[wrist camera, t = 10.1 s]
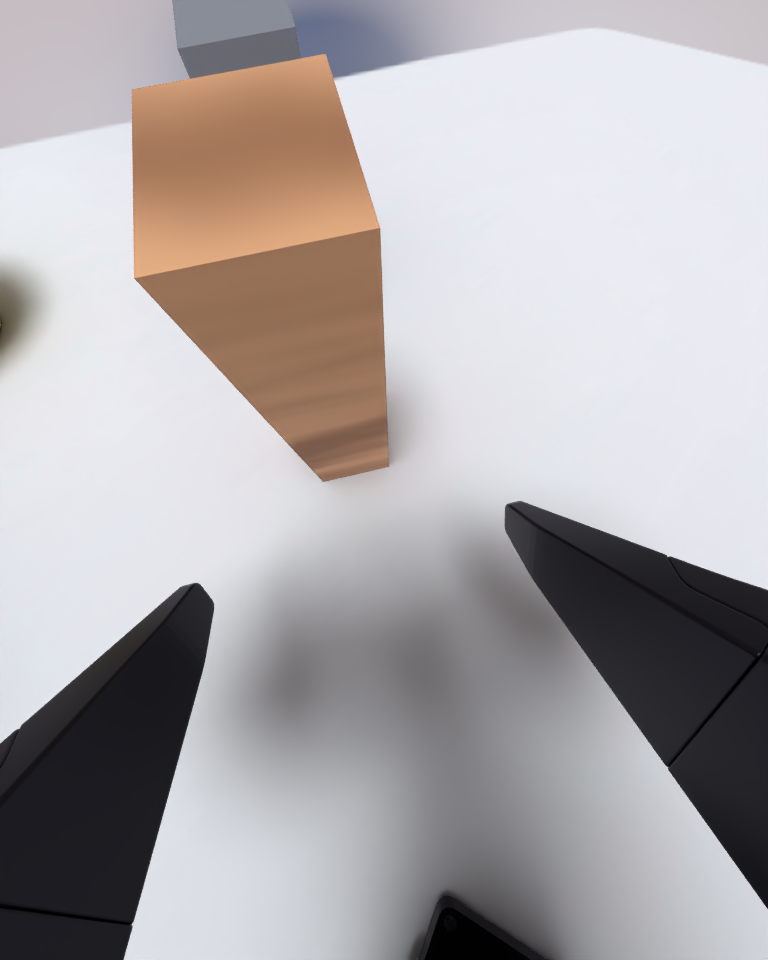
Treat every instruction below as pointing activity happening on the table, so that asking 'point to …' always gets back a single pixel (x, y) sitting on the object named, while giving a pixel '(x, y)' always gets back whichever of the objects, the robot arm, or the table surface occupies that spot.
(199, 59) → the grey flat block
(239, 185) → the wooden post
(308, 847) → the table surface
